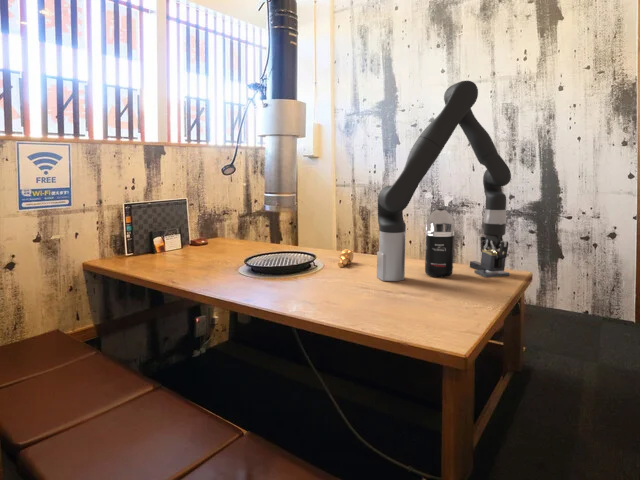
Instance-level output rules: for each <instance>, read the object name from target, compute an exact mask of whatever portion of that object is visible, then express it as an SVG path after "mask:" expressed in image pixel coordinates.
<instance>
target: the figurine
mask: <svg viewBox="0 0 640 480" xmlns="http://www.w3.org/2000/svg"><path fill="white" fill-rule="evenodd" d="M338 258H339V262H337V266H338V267H339V268H340V269H341V268H344V266H347V265H348V266H349V265H350V264H351V263H353V260H354V250H351V249H349V248H346V249H343V250H341V251H340V253H339V256H338Z"/></svg>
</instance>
